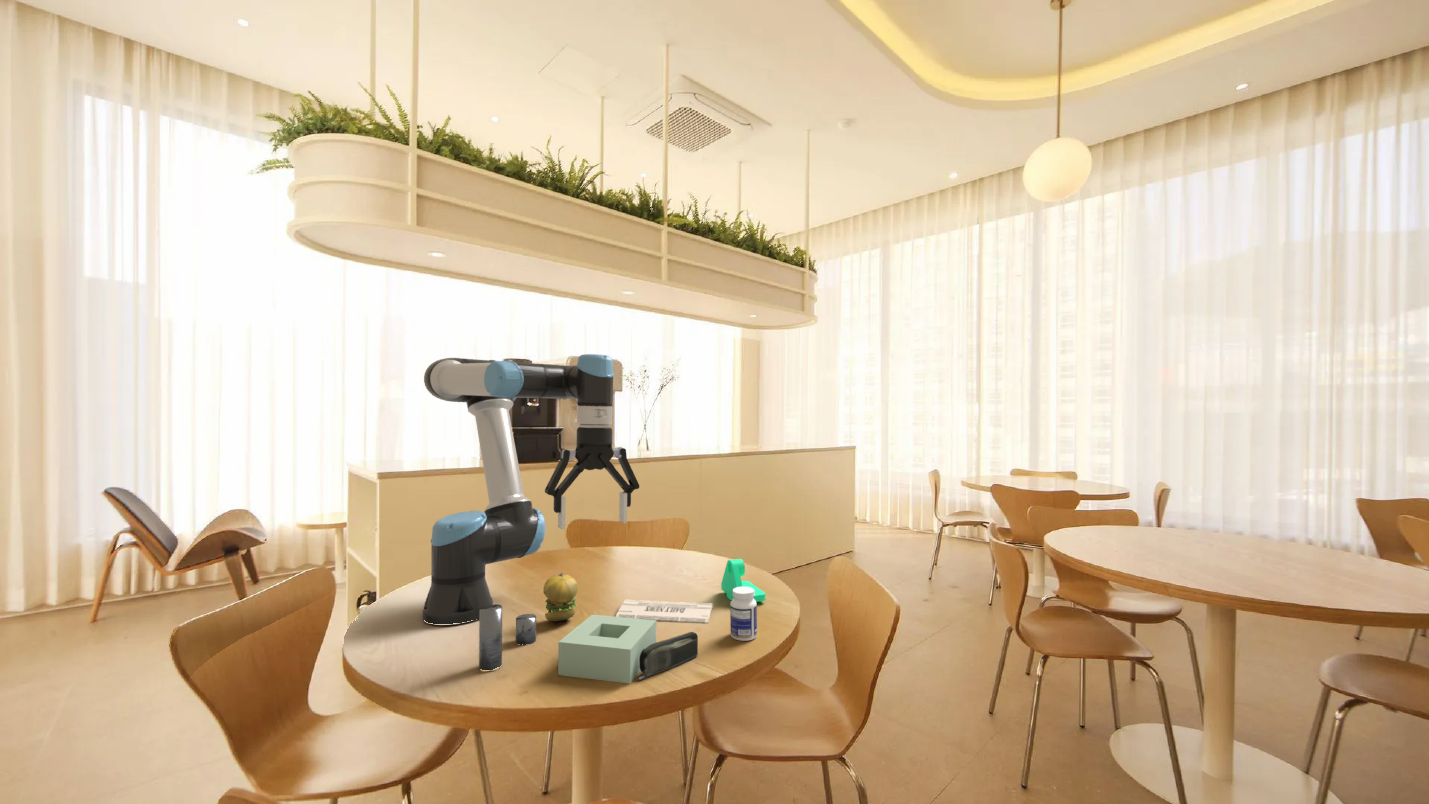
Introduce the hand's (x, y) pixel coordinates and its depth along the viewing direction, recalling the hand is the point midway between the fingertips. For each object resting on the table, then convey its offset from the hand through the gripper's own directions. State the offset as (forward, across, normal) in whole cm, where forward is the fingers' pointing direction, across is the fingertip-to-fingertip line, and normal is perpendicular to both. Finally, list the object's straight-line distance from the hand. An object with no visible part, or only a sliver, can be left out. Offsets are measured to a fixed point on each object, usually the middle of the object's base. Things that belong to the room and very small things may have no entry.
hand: (593, 525), depth 119 cm
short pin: (+24, -13, +4) cm, 27 cm away
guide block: (+24, -1, -14) cm, 28 cm away
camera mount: (+24, +41, +3) cm, 48 cm away
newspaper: (+24, +20, +5) cm, 32 cm away
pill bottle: (+24, +28, -17) cm, 40 cm away
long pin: (+24, -21, -5) cm, 32 cm away
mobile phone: (+24, +8, -21) cm, 33 cm away
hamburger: (+24, -4, +10) cm, 27 cm away
